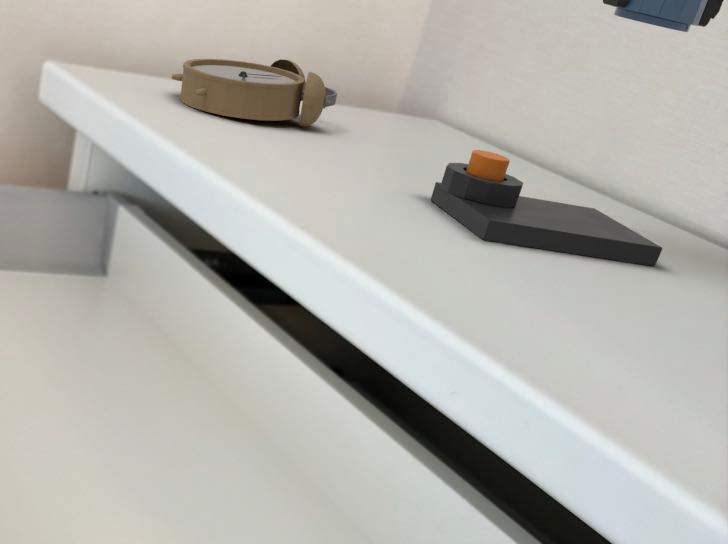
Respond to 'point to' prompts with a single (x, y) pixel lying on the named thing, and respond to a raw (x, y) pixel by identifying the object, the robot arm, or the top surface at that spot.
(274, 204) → the top surface
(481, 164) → the button
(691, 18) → the cup
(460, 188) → the scale
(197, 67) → the alarm clock
